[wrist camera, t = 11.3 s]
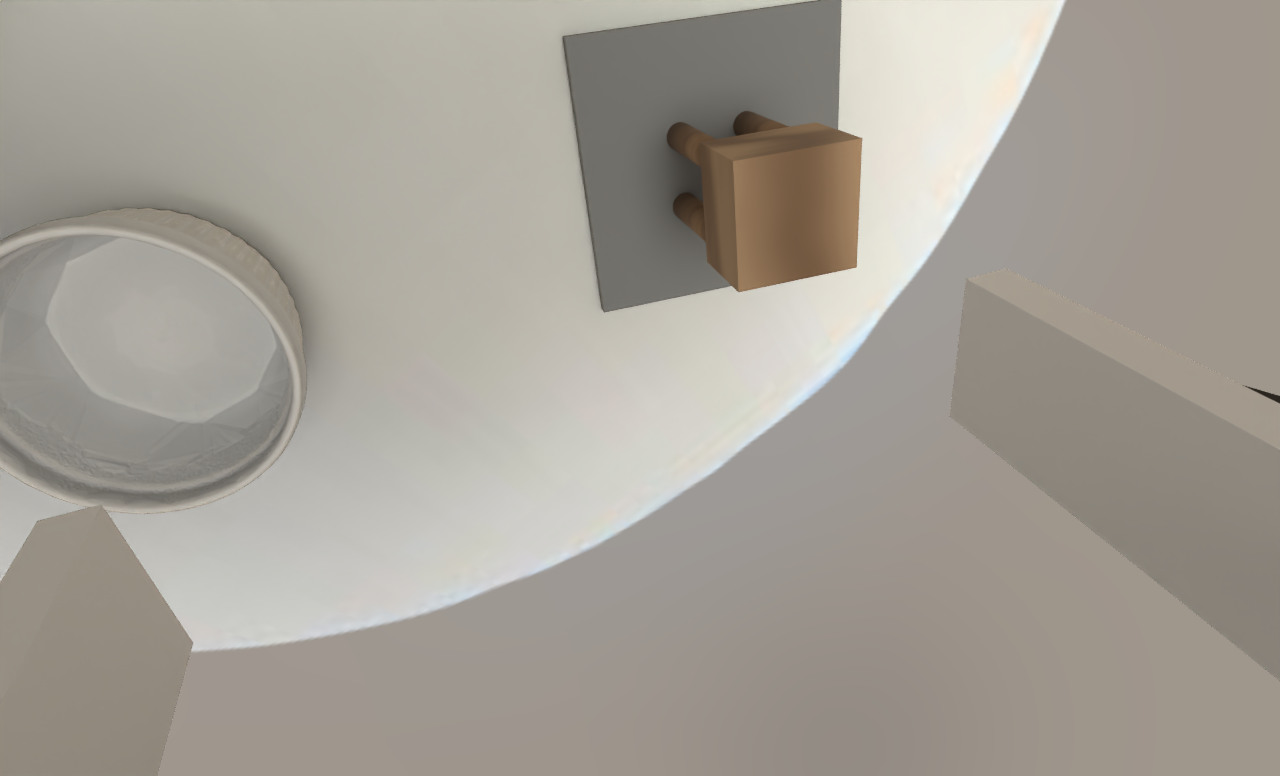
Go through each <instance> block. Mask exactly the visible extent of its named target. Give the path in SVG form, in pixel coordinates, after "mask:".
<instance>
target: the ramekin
mask: <svg viewBox="0 0 1280 776" xmlns="http://www.w3.org/2000/svg"><path fill="white" fill-rule="evenodd" d="M306 391H307V372H306V363H305V358H304V353H303V334H302V328H301V326H300V318H299V314H298V312H297V310H296V309H295V303H294V300H293V298H292V297H291V295H290V294H289V292H288V288H287V286H286V284H285V283H284V282H283V281H282V280H281V278H280V276H279V274H278V272H277V271H276V270H275V269H274V268H273V267H272V266H271V265H270V263H269V262H268V260H266V259H265V258H264V257H263V256H261V255H260V254H259V253H258V252H257V250H255V249H254V248H252V247H250V246H249V245H247V244H246V243H245V242H244V240H242V239H241V238H239V237H236V236H234V235H232V234H231V233H230V232H229V231H227V230H226V229H224V228H221V227H217V226H215V225H213V224H212V223H210V222H209V221H206V220H201V219H198V218H195V217H194V216H192V215H189V214H180V213H176V212H174V211H171V210H162V211H160V210H156V209H152V208H142V209H134V208H123V209H119V210H105V211H101V212H97V213H93V214H90V215H86V216H82V217H71V218H63V219H58V220H52V221H49V222H45V223H42V224H38V225H34V226H32V227H29V228H26V229H24V230H21V231H19V232H17V233H15V234H13V235H10V236H8V237H7V238H5V239H3V240H1V241H0V468H1V469H3V470H4V471H6V472H8V473H9V474H10V475H12V476H14V477H15V478H17V479H18V480H20V481H22V482H23V483H25V484H27V485H29V486H31V487H33V488H35V489H38V490H40V491H42V492H44V493H46V494H48V495H50V496H52V497H56V498H59V499H62V500H64V501H67V502H71V503H74V504H77V505H81V506H85V507H93V506H97V505H101V504H102V506H103V507H104V509H105V510H106V511H112V512H120V513H146V514H150V513H164V512H172V511H179V510H185V509H189V508H193V507H197V506H201V505H204V504H208V503H211V502H213V501H216V500H219V499H221V498H224V497H226V496H228V495H230V494H232V493H234V492H236V491H238V490H240V489H241V488H243V487H245V486H246V485H248V484H249V483H251V482H252V481H254V480H255V479H257V478H258V477H259V476H260V475H262V474H263V473H264V472H265V471H266V470H267V469H268V468H269V467H270V466H271V465H272V464H273V463H274V462H275V461H276V460H277V459H278V457H279V456H280V455H281V454H282V452H283V451H284V450H285V448H286V446H287V445H288V443H289V441H290V440H291V438H292V436H293V434H294V432H295V429H296V427H297V425H298V422H299V420H300V417H301V414H302V411H303V407H304V403H305V398H306Z"/></svg>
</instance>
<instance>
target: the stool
mask: <svg viewBox="0 0 1280 776" xmlns="http://www.w3.org/2000/svg"><path fill="white" fill-rule="evenodd" d="M733 129H734V133H735V134H736V136H733V137H727V138H721V139H715V138H713V137H711V136H709V135H707V134H705V133H703V132H701V131H700V130H698V129H696V128H694V127H692V126H690V125H688V124H686V123H684V122H678V123H675V124H673V125H672V126H671V127H670V129H669V130H668V133H667V142H668V144H669V146H670V147H671V148H672V149H674V150H675V151H677V152H678V153H680V154H681V155H683V156H684V157H686V158H687V159H689V160H691V161H692V162H694V163H695V164H697V165H698V166H700V167H701V175H702V190H703V202H702V201H701V200H699V199H698V198H697V197H695V196H694V195H693V194H691V193H682V194H680V195H678V196H677V197H676V198H675V200H674V202H673V211H674V213H675V215H676V216H677V217H678V218H679V219H681V220H682V221H683V222H684V223H685V224H686V225H687V226H688V227H689V228H691V229H692V230H693V231H694V232H695V233H696V234H697V235H698V236H700V237H701V238H702V239H703V240H704V241H705V242H706V253H707V262H708V263H709V264H710V265H711V266H712V267H713V268H714V269H715V270H716V271H717V272H718V273H719V274H720V275H721V276H722V277H723V278H724V279H725V280H726V281H727V282H728V283H730V284H731V285H732V286H733V287H734V288H735V289H736V290H737V291H738V292H742V291H747V290H752V289H756V288H761V287H766V286H771V285H775V284H780V283H785V282H790V281H794V280H799V279H804V278H809V277H813V276H818V275H823V274H828V273H832V272H837V271H842V270H847V269H851V268H856V267H857V243H858V220H859V197H860V173H861V150H862V138H859V137H857V136H854V135H851V134H848V133H845V132H842V131H840V130H837V129H834V128H831V127H828V126H826V125H823V124H820V123H817V122H814V123H809V124H803V125H797V126H791V127H789V126H786V125H784V124H781V123H779V122H776V121H773V120H771V119H768V118H766V117H763V116H761V115H758V114H756V113H753V112H750V111H744V112H742V113H740V114H739V115H738V116H737V117H736V119H735V121H734V124H733Z"/></svg>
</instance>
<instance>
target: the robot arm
mask: <svg viewBox="0 0 1280 776" xmlns="http://www.w3.org/2000/svg"><path fill="white" fill-rule="evenodd" d="M950 417H951V418H952V419H954V420H955V421H956V422H957V423H959V424H960V425H961V426H962V427H964V428H965V429H966V430H967V431H969V432H970V433H971V434H972V435H974V436H975V437H976V438H977V439H979V440H980V441H981V442H982V443H984V444H985V445H986V446H987V447H989V448H990V449H991V450H992V451H994V452H995V453H996V454H997V455H999V456H1000V457H1001V458H1002V459H1003V460H1005V461H1006V462H1007V463H1008V464H1010V465H1011V466H1012V467H1014V468H1015V469H1016V470H1017V471H1018V472H1020V473H1021V474H1022V475H1023V476H1025V477H1026V478H1027V479H1029V480H1030V481H1031V482H1032V483H1034V484H1035V485H1036V486H1037V487H1038V488H1040V489H1041V490H1042V491H1044V492H1045V493H1046V494H1047V495H1048V496H1050V497H1051V498H1052V499H1053V500H1055V501H1056V502H1057V503H1058V504H1060V505H1061V506H1062V507H1063V508H1065V509H1066V510H1067V511H1068V512H1070V513H1071V514H1072V515H1073V516H1075V517H1076V518H1077V519H1078V520H1080V521H1081V522H1082V523H1083V524H1085V525H1086V526H1087V527H1088V528H1090V529H1091V530H1092V531H1093V532H1095V533H1096V534H1097V535H1098V536H1100V537H1101V538H1102V539H1103V540H1105V541H1106V542H1107V543H1108V544H1110V545H1111V546H1112V547H1113V548H1115V549H1116V550H1117V551H1118V552H1120V553H1121V554H1122V555H1123V556H1125V557H1126V558H1127V559H1128V560H1129V561H1131V562H1132V563H1133V564H1135V565H1136V566H1137V567H1138V568H1139V569H1141V570H1142V571H1143V572H1144V573H1146V574H1147V575H1148V576H1149V577H1151V578H1152V579H1153V580H1154V581H1156V582H1157V583H1158V584H1160V585H1161V586H1162V587H1163V588H1164V589H1166V590H1167V591H1168V592H1170V593H1171V594H1172V595H1173V596H1174V597H1176V598H1177V599H1178V600H1179V601H1181V602H1182V603H1183V604H1184V605H1186V606H1187V607H1188V608H1189V609H1191V610H1192V611H1193V612H1194V613H1196V614H1197V615H1198V616H1199V617H1201V618H1202V619H1203V620H1204V621H1206V622H1207V623H1208V624H1209V625H1211V626H1212V627H1213V628H1214V629H1216V630H1217V631H1218V632H1219V633H1221V634H1222V635H1223V636H1224V637H1226V638H1227V639H1228V640H1229V641H1231V642H1232V643H1233V644H1235V645H1236V646H1237V647H1238V648H1239V649H1241V650H1242V651H1243V652H1244V653H1246V654H1247V655H1248V656H1249V657H1251V658H1252V659H1253V660H1254V661H1256V662H1257V663H1258V664H1259V665H1261V666H1262V667H1263V668H1264V669H1265V670H1267V671H1268V672H1269V673H1270V674H1272V675H1273V676H1274V677H1276V678H1277V679H1278V680H1279V681H1280V396H1278V395H1274V394H1271V393H1267V392H1264V391H1261V390H1257V389H1253V388H1250V387H1247V386H1244V385H1241V384H1239V383H1237V382H1235V381H1233V380H1231V379H1229V378H1227V377H1225V376H1223V375H1221V374H1219V373H1217V372H1215V371H1213V370H1210V369H1209V368H1206V367H1204V366H1202V365H1200V364H1198V363H1196V362H1194V361H1192V360H1190V359H1188V358H1186V357H1184V356H1182V355H1180V354H1178V353H1176V352H1174V351H1172V350H1170V349H1168V348H1166V347H1164V346H1162V345H1160V344H1158V343H1156V342H1154V341H1152V340H1150V339H1148V338H1146V337H1144V336H1141V335H1140V334H1138V333H1136V332H1134V331H1131V330H1130V329H1128V328H1125V327H1123V326H1121V325H1119V324H1117V323H1115V322H1113V321H1111V320H1109V319H1107V318H1105V317H1103V316H1101V315H1099V314H1097V313H1095V312H1093V311H1091V310H1089V309H1087V308H1085V307H1083V306H1081V305H1079V304H1077V303H1075V302H1073V301H1071V300H1069V299H1067V298H1065V297H1063V296H1061V295H1059V294H1057V293H1054V292H1053V291H1051V290H1049V289H1047V288H1045V287H1042V286H1040V285H1038V284H1036V283H1034V282H1032V281H1030V280H1028V279H1026V278H1024V277H1022V276H1020V275H1018V274H1016V273H1014V272H1012V271H1010V270H1008V269H1003V270H999V271H994V272H991V273H987V274H983V275H979V276H975V277H971V278H968V279H966V285H965V294H964V302H963V310H962V318H961V327H960V335H959V344H958V352H957V359H956V369H955V376H954V384H953V393H952V401H951V410H950ZM192 645H193V642H192V640H191V639H190V637H189V636H188V634H187V633H186V631H185V630H184V628H183V627H182V625H181V624H180V622H179V621H178V619H177V618H176V616H175V615H174V613H173V612H172V610H171V609H170V607H169V606H168V604H167V603H166V601H165V599H164V598H163V596H162V595H161V593H160V592H159V590H158V589H157V587H156V586H155V584H154V583H153V581H152V580H151V578H150V577H149V575H148V574H147V572H146V571H145V569H144V568H143V566H142V565H141V563H140V562H139V560H138V559H137V557H136V556H135V554H134V553H133V551H132V550H131V548H130V547H129V545H128V544H127V542H126V540H125V539H124V537H123V536H122V534H121V533H120V531H119V530H118V528H117V527H116V525H115V524H114V522H113V521H112V519H111V518H110V516H109V515H108V513H107V512H106V510H105V509H104V507H103V506H102V504H101V505H97V506H93V507H89V508H86V509H82V510H78V511H74V512H70V513H66V514H63V515H59V516H55V517H51V518H47V519H43V520H40V521H37V523H36V524H35V526H34V528H33V529H32V531H31V533H30V534H29V536H28V538H27V539H26V541H25V543H24V544H23V546H22V548H21V549H20V551H19V553H18V554H17V556H16V558H15V559H14V561H13V562H12V564H11V566H10V567H9V569H8V571H7V572H6V574H5V576H4V577H3V579H2V581H1V582H0V776H157V774H158V771H159V767H160V763H161V760H162V756H163V752H164V748H165V745H166V741H167V737H168V733H169V730H170V726H171V723H172V719H173V715H174V712H175V708H176V704H177V700H178V697H179V693H180V689H181V686H182V682H183V678H184V674H185V670H186V667H187V663H188V660H189V656H190V652H191V649H192Z"/></svg>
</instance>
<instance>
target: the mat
mask: <svg viewBox="0 0 1280 776" xmlns="http://www.w3.org/2000/svg"><path fill="white" fill-rule="evenodd" d="M840 35H841V0H817V1H810V2H803V3H796V4H789V5H782V6H775V7H767V8H760V9H753V10H746V11H739V12H732V13H725V14H718V15H711V16H704V17H697V18H689V19H682V20H675V21H668V22H661V23H654V24H647V25H640V26H633V27H626V28H618V29H611V30H604V31H597V32H590V33H583V34H576V35H569V36H563V42H564V49H565V56H566V63H567V70H568V77H569V84H570V91H571V97H572V104H573V111H574V118H575V125H576V132H577V139H578V146H579V153H580V160H581V167H582V174H583V181H584V188H585V195H586V202H587V209H588V216H589V222H590V229H591V236H592V243H593V250H594V257H595V264H596V271H597V278H598V285H599V292H600V299H601V306H602V309H603V311H604V312H609V311H613V310H618V309H623V308H628V307H633V306H637V305H642V304H647V303H652V302H657V301H661V300H666V299H671V298H676V297H681V296H685V295H690V294H695V293H700V292H705V291H709V290H714V289H719V288H724V287H729V286H732V285H731V284H730V283H728V282H727V281H726V280H725V279H724V278H723V277H722V276H721V275H720V274H719V273H718V272H717V271H716V270H715V269H714V268H713V267H712V266H711V265H710V264H709V263H708V262H707V253H706V242H705V241H704V240H703V239H702V238H701V237H700V236H698V235H697V234H696V233H695V232H694V231H693V230H692V229H691V228H689V227H688V226H687V225H686V224H685V223H684V222H683V221H682V220H681V219H679V218H678V217H677V216H676V215H675V213H674V211H673V202H674V200H675V198H676V197H677V196H678V195H680V194H682V193H691V194H693V195H694V196H695V197H697V198H698V199H699V200H701V201H702V202H703V190H702V175H701V167H700V166H698V165H697V164H695V163H694V162H692V161H691V160H689V159H687V158H686V157H684V156H683V155H681V154H680V153H678V152H677V151H675V150H674V149H672V148H671V147H670V146H669V144H668V142H667V133H668V130H669V129H670V127H671V126H672V125H673V124H675V123H678V122H684V123H686V124H688V125H690V126H692V127H694V128H696V129H698V130H700V131H701V132H703V133H705V134H707V135H709V136H711V137H713V138H715V139H721V138H727V137H733V136H736V134H735V133H734V129H733V124H734V121H735V119H736V117H737V116H738V115H739V114H740V113H742V112H744V111H750V112H753V113H756V114H758V115H761V116H763V117H766V118H768V119H771V120H773V121H776V122H779V123H781V124H784V125H786V126H789V127H791V126H797V125H803V124H809V123H814V122H817V123H820V124H823V125H826V126H828V127H831V128H834V129H837V130H838V109H839V72H840Z"/></svg>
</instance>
